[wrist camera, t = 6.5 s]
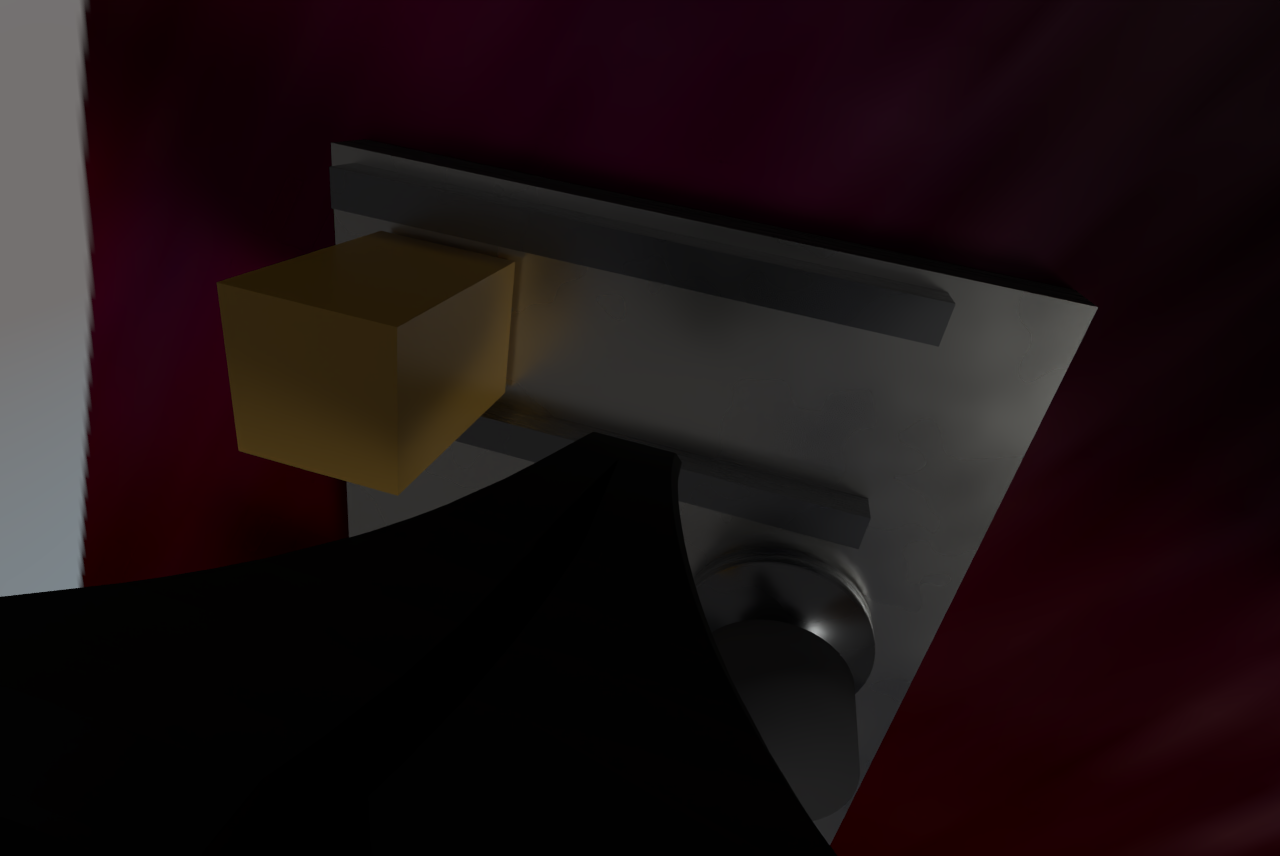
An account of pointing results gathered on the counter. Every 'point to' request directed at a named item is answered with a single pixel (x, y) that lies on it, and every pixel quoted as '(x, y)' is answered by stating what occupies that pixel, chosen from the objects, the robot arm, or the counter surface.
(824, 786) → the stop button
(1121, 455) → the counter surface
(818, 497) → the panel
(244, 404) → the slider knob
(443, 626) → the robot arm
